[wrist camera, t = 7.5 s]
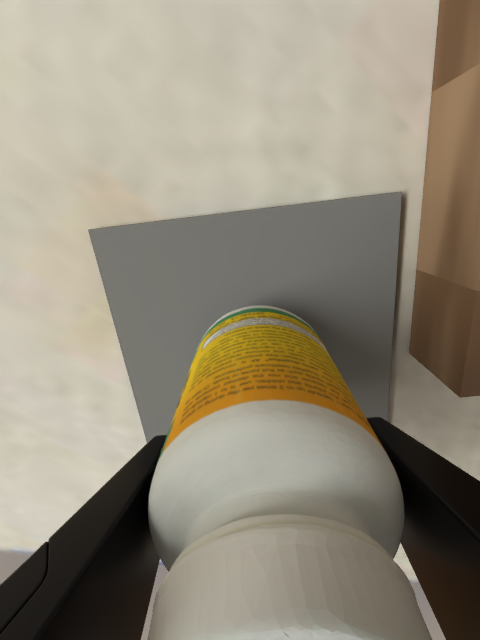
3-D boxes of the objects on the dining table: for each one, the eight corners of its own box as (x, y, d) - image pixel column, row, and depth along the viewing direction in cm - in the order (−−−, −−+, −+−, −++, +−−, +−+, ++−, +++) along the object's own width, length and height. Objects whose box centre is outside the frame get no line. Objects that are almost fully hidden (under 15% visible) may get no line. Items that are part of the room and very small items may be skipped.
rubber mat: (396, 192, 12) (401, 191, 11) (382, 441, 16) (385, 446, 16) (93, 229, 12) (88, 229, 12) (155, 459, 16) (153, 466, 16)
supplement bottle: (334, 399, 13) (517, 794, 4) (218, 426, 14) (172, 823, 5) (308, 284, 12) (529, 555, 3) (176, 321, 12) (-12, 645, 3)
